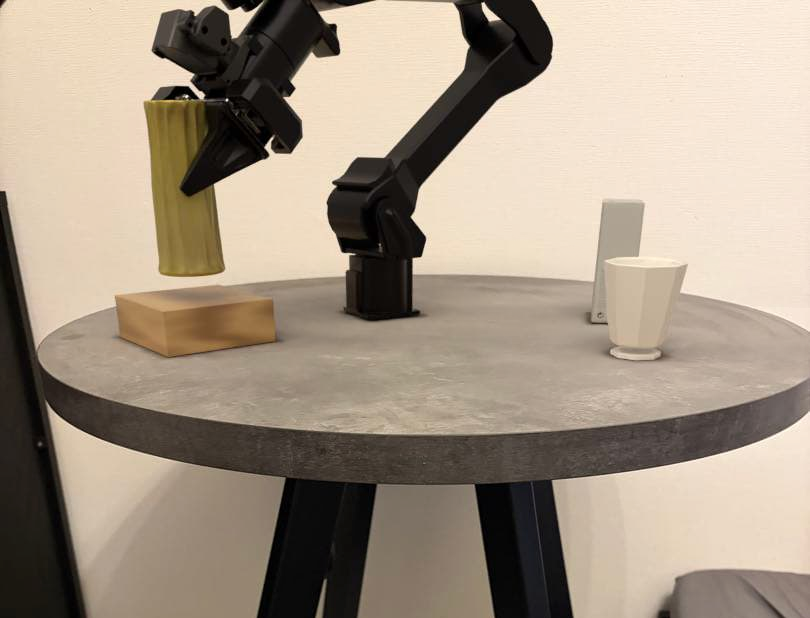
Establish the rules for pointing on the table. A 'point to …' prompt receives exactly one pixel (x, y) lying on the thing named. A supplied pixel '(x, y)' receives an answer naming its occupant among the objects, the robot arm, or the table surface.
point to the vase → (175, 212)
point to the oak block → (195, 319)
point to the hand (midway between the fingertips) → (169, 191)
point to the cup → (641, 303)
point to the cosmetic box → (615, 244)
